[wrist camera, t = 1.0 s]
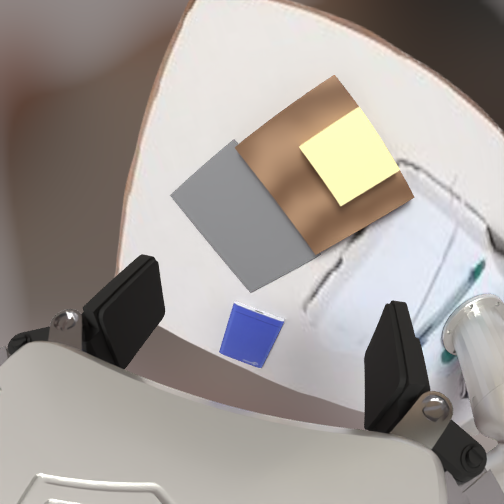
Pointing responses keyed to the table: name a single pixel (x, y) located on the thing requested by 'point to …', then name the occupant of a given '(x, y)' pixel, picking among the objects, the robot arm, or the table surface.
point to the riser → (306, 177)
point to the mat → (242, 220)
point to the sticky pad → (349, 156)
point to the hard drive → (250, 334)
